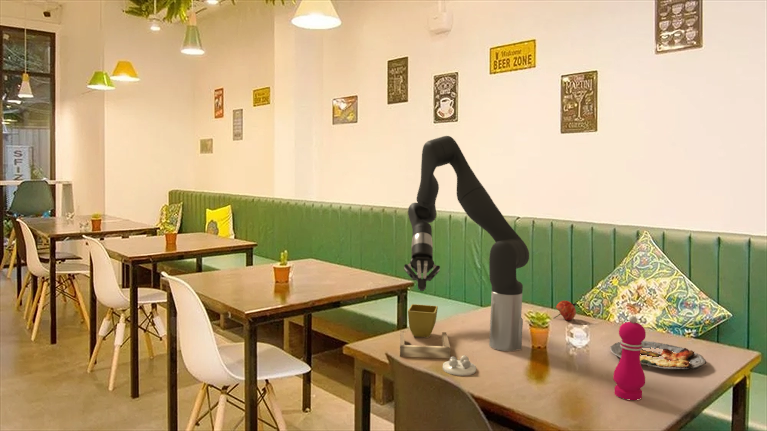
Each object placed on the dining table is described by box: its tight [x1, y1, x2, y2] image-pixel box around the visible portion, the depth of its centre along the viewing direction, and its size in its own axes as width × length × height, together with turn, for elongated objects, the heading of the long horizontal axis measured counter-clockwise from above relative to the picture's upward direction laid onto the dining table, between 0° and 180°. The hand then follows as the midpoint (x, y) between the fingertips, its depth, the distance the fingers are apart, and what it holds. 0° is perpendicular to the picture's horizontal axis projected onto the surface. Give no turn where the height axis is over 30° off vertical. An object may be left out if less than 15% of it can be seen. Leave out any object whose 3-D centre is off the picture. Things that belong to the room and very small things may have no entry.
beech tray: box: [399, 330, 451, 359], centre depth 173 cm, size 14×15×3 cm
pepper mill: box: [612, 315, 647, 401], centre depth 140 cm, size 7×7×20 cm
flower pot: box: [407, 303, 439, 338], centre depth 186 cm, size 9×9×9 cm
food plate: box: [609, 340, 707, 371], centre depth 168 cm, size 25×23×4 cm
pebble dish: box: [442, 354, 477, 377], centre depth 156 cm, size 9×9×3 cm
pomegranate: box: [553, 299, 578, 321], centre depth 209 cm, size 7×7×10 cm
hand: (421, 289), depth 194 cm, fingers closed
